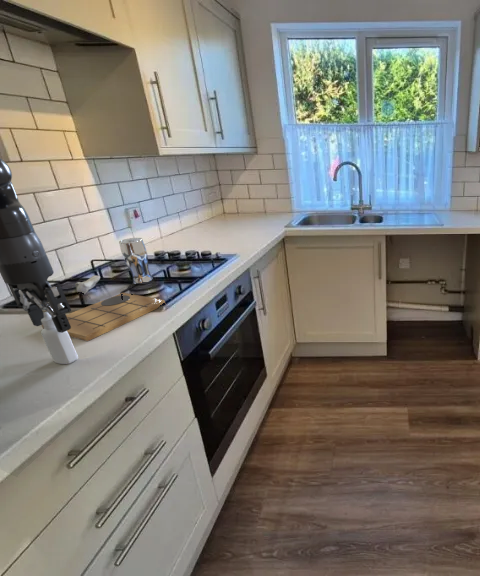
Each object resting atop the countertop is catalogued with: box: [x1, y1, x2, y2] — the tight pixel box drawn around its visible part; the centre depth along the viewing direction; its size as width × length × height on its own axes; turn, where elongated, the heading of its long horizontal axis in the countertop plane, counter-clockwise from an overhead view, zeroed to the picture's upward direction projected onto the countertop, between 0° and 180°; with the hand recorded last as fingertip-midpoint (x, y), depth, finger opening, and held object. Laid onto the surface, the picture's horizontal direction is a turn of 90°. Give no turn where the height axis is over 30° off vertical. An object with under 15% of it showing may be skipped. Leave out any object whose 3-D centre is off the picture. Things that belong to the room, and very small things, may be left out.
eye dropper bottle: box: [40, 311, 79, 365], centre depth 79 cm, size 4×6×12 cm
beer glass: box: [118, 237, 154, 285], centre depth 123 cm, size 7×7×15 cm
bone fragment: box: [74, 275, 101, 295], centre depth 120 cm, size 5×11×4 cm, turn 18°
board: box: [41, 292, 166, 342], centre depth 101 cm, size 22×18×2 cm
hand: (52, 327), depth 79 cm, fingers open, 8 cm apart
